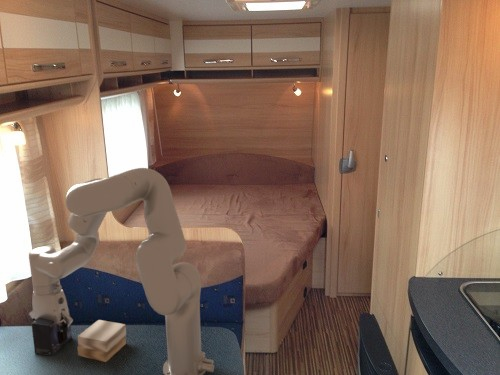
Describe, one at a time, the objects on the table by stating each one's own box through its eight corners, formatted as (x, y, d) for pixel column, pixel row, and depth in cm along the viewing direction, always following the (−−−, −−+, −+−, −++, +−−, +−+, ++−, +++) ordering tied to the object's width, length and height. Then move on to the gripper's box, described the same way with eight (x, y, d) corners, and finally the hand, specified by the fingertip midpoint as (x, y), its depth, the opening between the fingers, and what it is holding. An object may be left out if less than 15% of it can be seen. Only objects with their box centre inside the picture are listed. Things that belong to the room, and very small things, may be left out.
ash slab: (126, 334, 137) (125, 324, 137) (106, 352, 128) (105, 341, 127) (99, 329, 141) (98, 319, 140) (78, 346, 131) (77, 336, 131)
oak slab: (126, 344, 138) (125, 334, 137) (105, 363, 129) (104, 352, 128) (100, 339, 141) (99, 329, 141) (78, 356, 132) (77, 346, 131)
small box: (52, 356, 132) (48, 325, 129) (33, 354, 133) (29, 323, 131) (73, 337, 142) (69, 307, 140) (55, 335, 143) (51, 306, 141)
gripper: (78, 285, 134) (84, 337, 138) (34, 278, 139) (40, 328, 143) (60, 296, 127) (67, 351, 131) (14, 288, 132) (22, 341, 136)
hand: (53, 339), depth 137 cm, fingers closed on small box, 6 cm apart
